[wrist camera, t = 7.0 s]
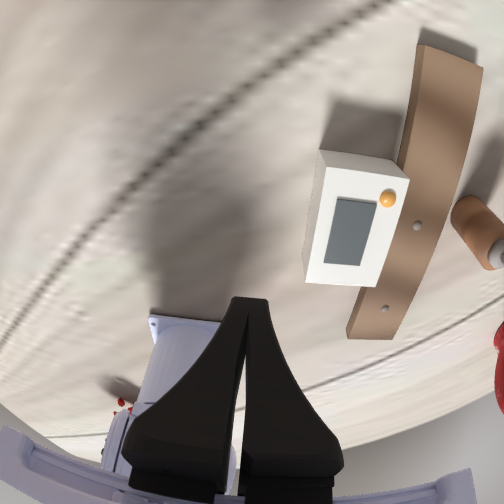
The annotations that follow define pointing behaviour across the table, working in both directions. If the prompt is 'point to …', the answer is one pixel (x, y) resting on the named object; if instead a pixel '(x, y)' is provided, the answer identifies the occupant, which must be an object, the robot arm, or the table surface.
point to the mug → (499, 367)
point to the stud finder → (351, 218)
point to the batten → (422, 185)
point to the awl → (480, 231)
